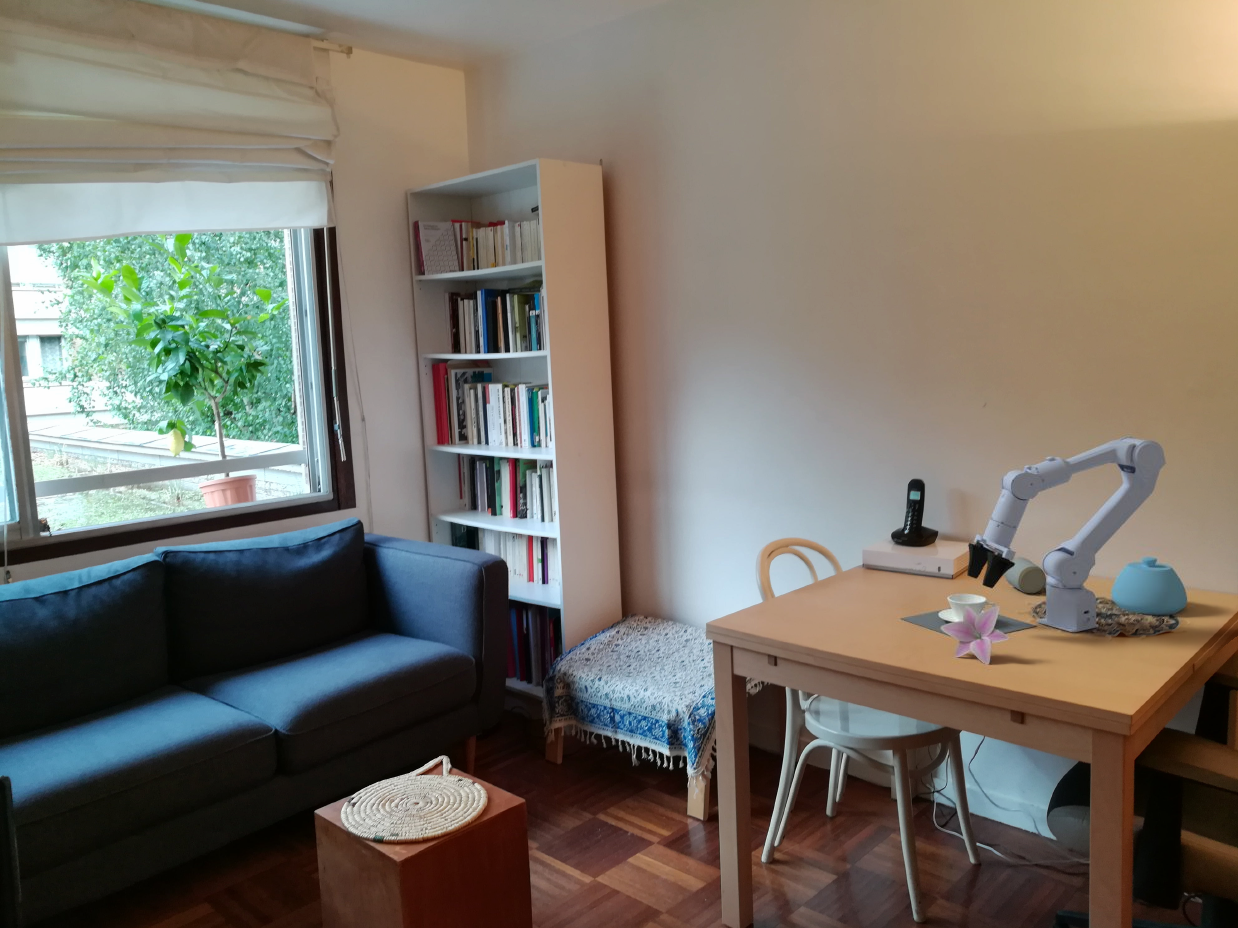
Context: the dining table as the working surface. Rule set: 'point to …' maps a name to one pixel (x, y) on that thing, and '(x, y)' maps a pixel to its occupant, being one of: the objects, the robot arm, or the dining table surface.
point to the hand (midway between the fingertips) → (979, 581)
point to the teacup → (960, 602)
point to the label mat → (936, 622)
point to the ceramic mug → (1026, 576)
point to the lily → (976, 633)
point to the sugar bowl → (1149, 588)
